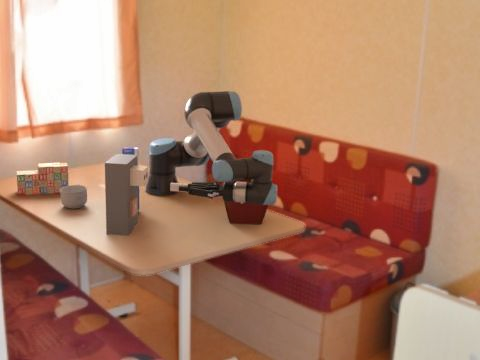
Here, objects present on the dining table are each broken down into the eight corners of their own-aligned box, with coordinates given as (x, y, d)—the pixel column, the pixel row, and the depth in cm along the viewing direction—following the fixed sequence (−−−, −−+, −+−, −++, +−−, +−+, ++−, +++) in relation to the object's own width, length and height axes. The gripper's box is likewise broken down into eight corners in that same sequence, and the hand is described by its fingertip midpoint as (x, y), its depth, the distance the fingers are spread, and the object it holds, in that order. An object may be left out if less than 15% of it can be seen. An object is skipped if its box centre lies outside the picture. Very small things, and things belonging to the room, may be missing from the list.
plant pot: (223, 210, 266) (224, 171, 262) (269, 212, 266) (271, 173, 261) (220, 226, 248) (221, 184, 243) (269, 228, 248) (272, 186, 243)
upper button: (148, 181, 239) (148, 166, 237) (143, 186, 233) (143, 170, 232) (126, 180, 240) (126, 164, 238) (122, 184, 234) (121, 169, 232)
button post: (138, 222, 248) (137, 155, 241) (127, 235, 235) (126, 164, 227) (118, 221, 249) (116, 153, 242) (106, 233, 236) (104, 162, 228)
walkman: (122, 171, 317) (122, 148, 314) (122, 170, 320) (122, 147, 317) (138, 171, 319) (138, 148, 316) (138, 170, 322) (138, 146, 318)
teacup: (80, 211, 258) (79, 192, 256) (55, 209, 260) (54, 190, 258) (94, 201, 271) (94, 183, 269) (71, 199, 273) (70, 181, 271)
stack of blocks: (17, 195, 276) (16, 168, 273) (17, 191, 282) (16, 164, 278) (69, 192, 283) (67, 165, 279) (68, 188, 288) (66, 162, 285)
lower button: (138, 211, 243) (137, 196, 241) (133, 216, 237) (133, 201, 235) (117, 210, 244) (116, 195, 242) (112, 215, 238) (111, 199, 236)
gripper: (231, 207, 227) (166, 202, 230) (236, 196, 240) (174, 191, 242) (232, 187, 225) (166, 182, 228) (237, 176, 238) (174, 172, 240)
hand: (170, 186), depth 235 cm, fingers closed
